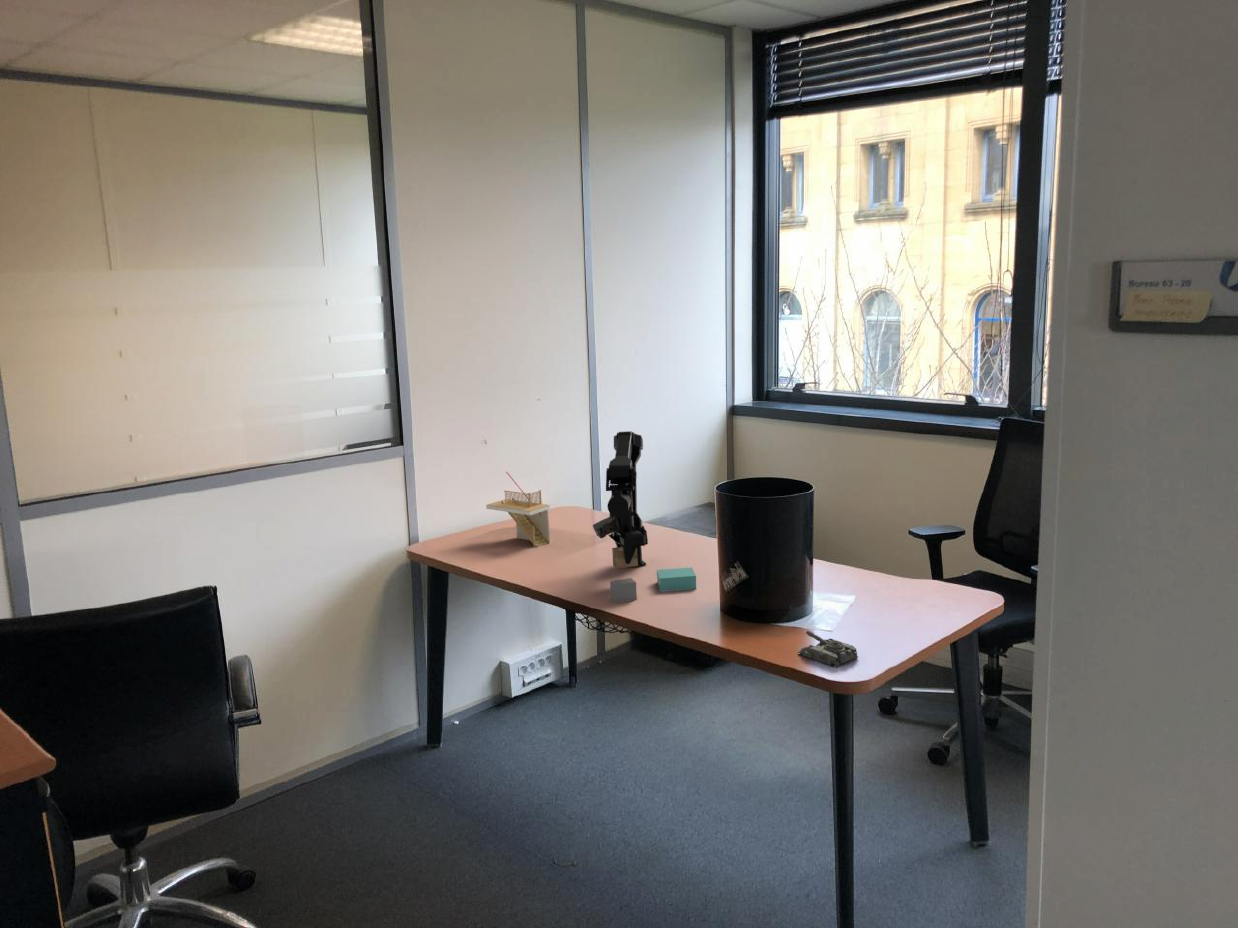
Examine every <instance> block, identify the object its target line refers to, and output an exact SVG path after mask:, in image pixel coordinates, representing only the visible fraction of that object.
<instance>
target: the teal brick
mask: <svg viewBox="0 0 1238 928" xmlns="http://www.w3.org/2000/svg"><path fill="white" fill-rule="evenodd" d="M656 582H657V585H658V588H659V592H669V591H680V590H681V591H682V590H683V591H685V590H697V575H696V573H695V571H694V569H693V567H677V568H665V569H664V568H663V569H656Z"/></svg>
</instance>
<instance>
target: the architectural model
mask: <svg viewBox="0 0 1238 928" xmlns="http://www.w3.org/2000/svg"><path fill="white" fill-rule="evenodd" d="M505 473H506V474H507V476H508V477H509V478H510V479H511V480H512V481H513V483H514V484H515V485H516V486H517V487H518V489H519V490H520V492H519V491H511V490H505V492H504V499H501V500H498V501H495V502H491V503H487V504H486V506H485V507H486V510H493V511H500V512H504V513H505V512H507V513H508V515H509V516H510V517H511V518H512V519H513V520H514V522H515V524H516V537H517V539H520V538H521V540H527V541H530V542H531V543H532V545H533V548H538V547H539V548H540V547H542V546H545V545H547V544H549V545H550V544H551V536H550V533H551V532H550V519H549V510H551V505H550V504H548V503H542V502H543V501H542V490H541V489H539V490H537V491H534V492H528V493H526V492H524V490H522V489H521V487H520V486H519V484H517V482H516V481H515V479H513V477H512V476H511V474H510V473H509V472H508V471H506V472H505Z"/></svg>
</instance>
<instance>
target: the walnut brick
mask: <svg viewBox="0 0 1238 928" xmlns="http://www.w3.org/2000/svg"><path fill="white" fill-rule="evenodd" d="M611 551H612V565H613V566H614V567H615V568H616V569H627V568H626V567H629V568H634V567H633V566H636V567H639V566H638V557H637V548H636V550H635V553H634V555H633V557H632V560H631V562H630V564H626V562H625V557H624V552H623V547H617V546H615V547H612V549H611Z"/></svg>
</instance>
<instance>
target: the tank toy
mask: <svg viewBox="0 0 1238 928" xmlns="http://www.w3.org/2000/svg"><path fill="white" fill-rule="evenodd" d="M805 634H806V635H807V636H808V637H811V638H813V639H814V640H816V641H817V642H819V643H817V644H816V645H812V644H809V646H805V647H803V648H801V650H799V651H798V652H797V654H798V653H800V654H802V655H801V656H804V657H806V658H808V659H809V658H810V659H812V660H815V661H817V662H818V661H819V663H820V662H821V663H824V664H826V665H827V664H828V665H829V666H832V665H833V666H832V668H833V667H836V668H837V667H839V666H840V665H843V664H846V663H847V662H851V661H855V660H857V659H858V658H859V655H858V651H857V648H856V647H855V646H854V645H851V644H849V643H845V642H842V641H839V640H836V639H833V638H828V639H825V638H823V637H821V636H819V635H817V634H815V633H814V632H812V631H811V630H806V632H805Z"/></svg>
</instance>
